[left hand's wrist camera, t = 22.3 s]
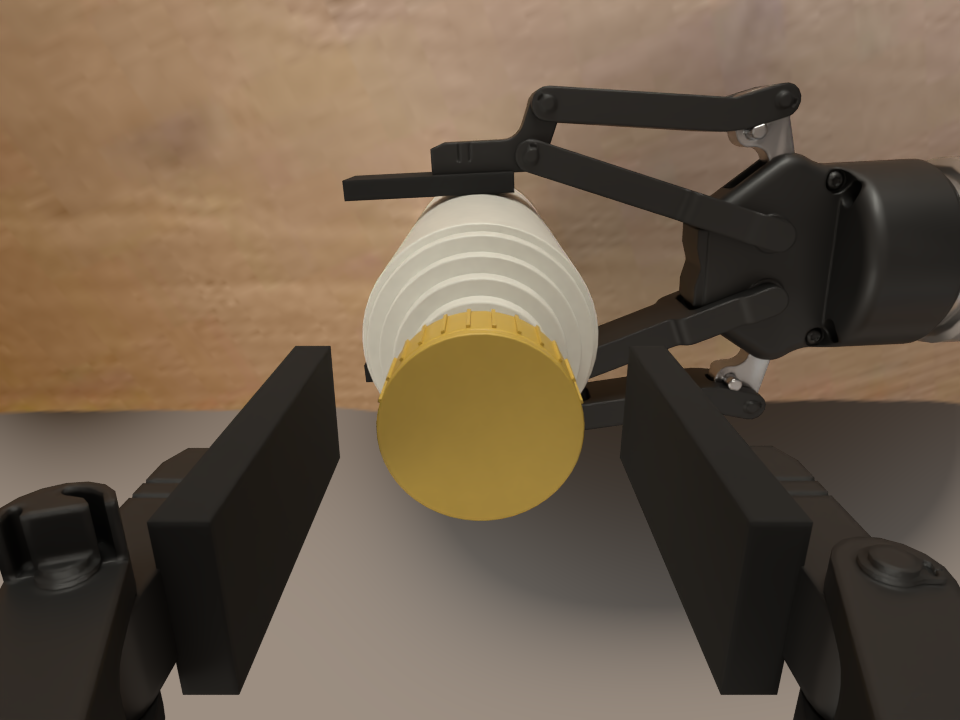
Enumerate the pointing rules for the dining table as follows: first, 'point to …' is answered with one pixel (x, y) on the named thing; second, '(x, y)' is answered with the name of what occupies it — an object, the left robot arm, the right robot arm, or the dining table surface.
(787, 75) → the dining table surface
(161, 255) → the dining table surface
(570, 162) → the right robot arm
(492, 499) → the cap
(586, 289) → the bottle
